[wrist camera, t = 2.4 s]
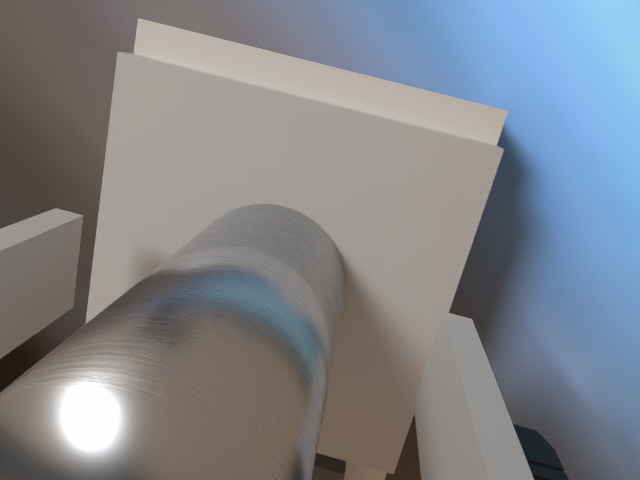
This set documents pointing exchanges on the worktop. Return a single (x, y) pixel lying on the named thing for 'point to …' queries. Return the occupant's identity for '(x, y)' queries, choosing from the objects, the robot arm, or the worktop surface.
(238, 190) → the scale
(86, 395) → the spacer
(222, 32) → the worktop surface
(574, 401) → the worktop surface
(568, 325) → the worktop surface
